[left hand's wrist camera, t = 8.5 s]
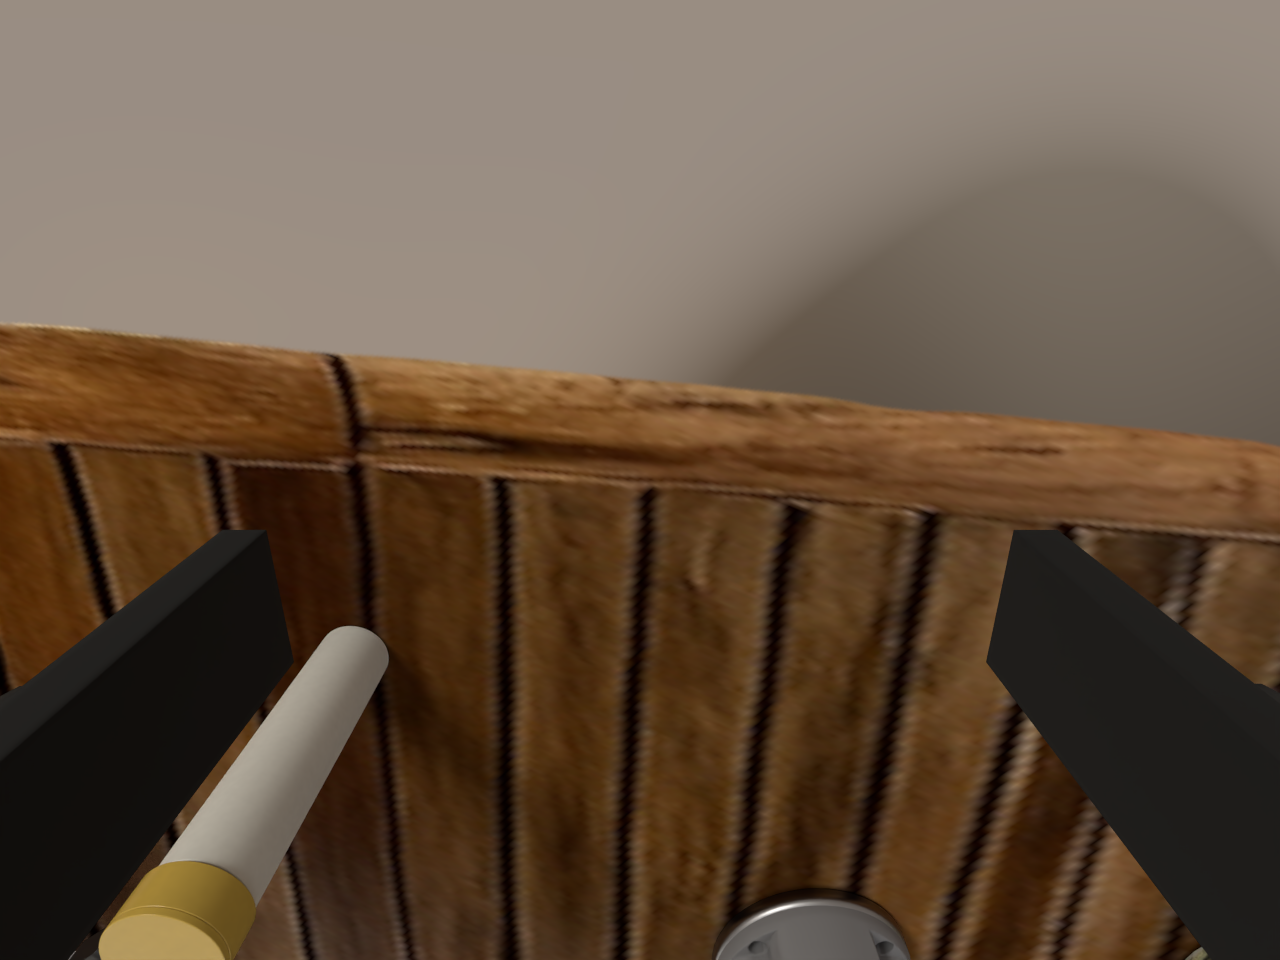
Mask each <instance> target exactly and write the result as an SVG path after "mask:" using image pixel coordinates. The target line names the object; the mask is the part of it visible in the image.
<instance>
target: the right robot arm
mask: <svg viewBox="0 0 1280 960" xmlns="http://www.w3.org/2000/svg"><path fill="white" fill-rule="evenodd" d="M105 929H106V928H104V929H103V930H101V931H99V932H98V933H96V934H95V935H93V936H91V937H90V938H88V939H87V940H85V941H84V942H82V944H81V945H79V947H78V948H77V949H76V950H75V952H74V953H73V954H72V956H71V957H70V958H69V960H101V958H100V954H99V941H100V938H101V935H102V933H103V932H104V930H105Z"/></svg>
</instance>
